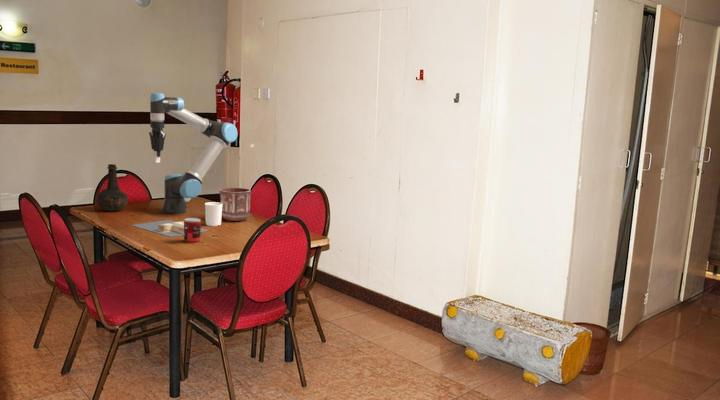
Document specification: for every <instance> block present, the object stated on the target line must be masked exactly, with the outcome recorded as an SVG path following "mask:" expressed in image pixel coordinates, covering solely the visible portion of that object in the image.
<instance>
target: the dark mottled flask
mask: <svg viewBox="0 0 720 400" xmlns="http://www.w3.org/2000/svg"><path fill="white" fill-rule="evenodd" d="M106 169H108V170H107V171H108V172H107V174H108V175H107V184H106V188H105V189H103V190H101V191H99V192H98V194H97V196H96V205H97V206H98V207H99V208H100V210H102V211H104V212H108V213H109V212H111V213H112V212H119V211H122V210H124V209H125V208H126V206H127V205H128V202H129V197H128V194H126V193H125V192H124V191H122V190H121V189H120V188H119V183H118V176H117V169H118V167H117V165H116V164H114V163H113V164H112V163H110V164H108V165H107V168H106Z"/></svg>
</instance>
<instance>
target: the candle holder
mask: <svg viewBox="0 0 720 400" xmlns="http://www.w3.org/2000/svg"><path fill="white" fill-rule="evenodd" d="M222 206H223V204H222V203H221V202H218V201H217V202H216V201H212V202H211V201H209V202H205V203H204V210H205V211H204V212H205V213H204V215H205V225H206V226H208V227H209V226H210V227H217V226H218V225H219V226H221V225H222V219H223V217H222Z"/></svg>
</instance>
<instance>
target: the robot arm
mask: <svg viewBox="0 0 720 400" xmlns="http://www.w3.org/2000/svg"><path fill="white" fill-rule="evenodd" d="M149 96H150V97H149V98H150V99H149V102H150V103H149V105H150V107H149V108H150V111H149V112H150V124H149V126H150V128H151V132H148V134H149V139H150V145H151V150H153V152H154V153H153V154H154V155H153V157H154V163H155V164H156V163H157V164H158V163H159V164H160V163H161V152H162V151H163V150H164V148H165V147H164V144H165V140H166V139H165V138H166V136H167V134H166V133H164V131H163V129H164V128H165V113H166V114H167V115H169V116H171V117H173V118H175V119H178V120H179V121H181V122H183V123H185V124H187V125H188V126H190V127H193V129H196V130H197V132H199V133H200V134H202V135H204V136H206V137H208V138H209V139H210V141H209V142H208V144H207V145H206V147H205V148H204V149H203V151H202V152H201V154H200V155H199V157H198V159H197V160H196V161H195V163H194V164H193V166H191V169H190V170H189V171H186V172H185V173H176V174H175V173H174V174H166V175H165V176H164V179H163V180H164V181H163V183H164V199H163V203H162V206H161V212H162V213H164V214H183V213H187V212H188V206H187V202H186V203H185V199H184V198H191V199H195V198H196V197H198V196H199V195H200V194H201V192H202V184H203V178H204V177H205V175H207V173H208V171H209V169H210V168H211V167H212V165H213V164H214V162H215V161H216V159H217V158H218V156H219V154H220V153H221V151H222V150H223V149H226V148H227V147H228V145H229V144H230V143H234V142H235V141H236V140H237V138H238V134H239V133H238V129H237V127H236V126H235V125H234V124H232V123H230V122H221V121H220V122H219V121H214V120H211V119H208V118H203V117H201V116H199V115H198V114H196V113H194V112H192V111H190V110H189V109H186V108H184V107H185V101H184V99H183V98H182V97H173V96H165V93H160V92H159V93H158V92H157V93H156V92H152V93H150V95H149Z"/></svg>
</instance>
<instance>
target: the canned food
mask: <svg viewBox="0 0 720 400" xmlns="http://www.w3.org/2000/svg"><path fill="white" fill-rule="evenodd" d="M183 221H184V235H183V241H184V242H185V243H189V244H190V243H193V244H194V243H199V242H200V241H201V236H202V235H201V233H202V232H201V226H202V224H201V219H200V218H197V217H187V218H184V220H183Z"/></svg>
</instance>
